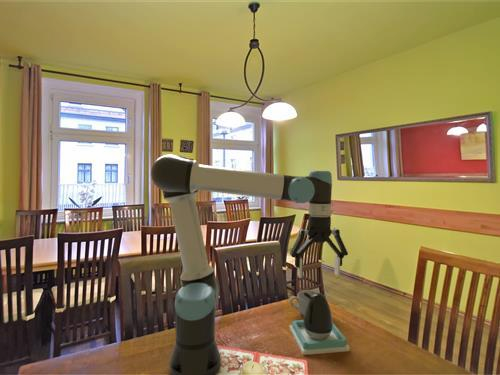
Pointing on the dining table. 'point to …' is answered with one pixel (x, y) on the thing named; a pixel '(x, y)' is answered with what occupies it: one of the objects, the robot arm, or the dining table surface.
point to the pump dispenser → (317, 317)
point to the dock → (314, 346)
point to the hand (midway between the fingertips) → (318, 275)
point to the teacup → (302, 300)
